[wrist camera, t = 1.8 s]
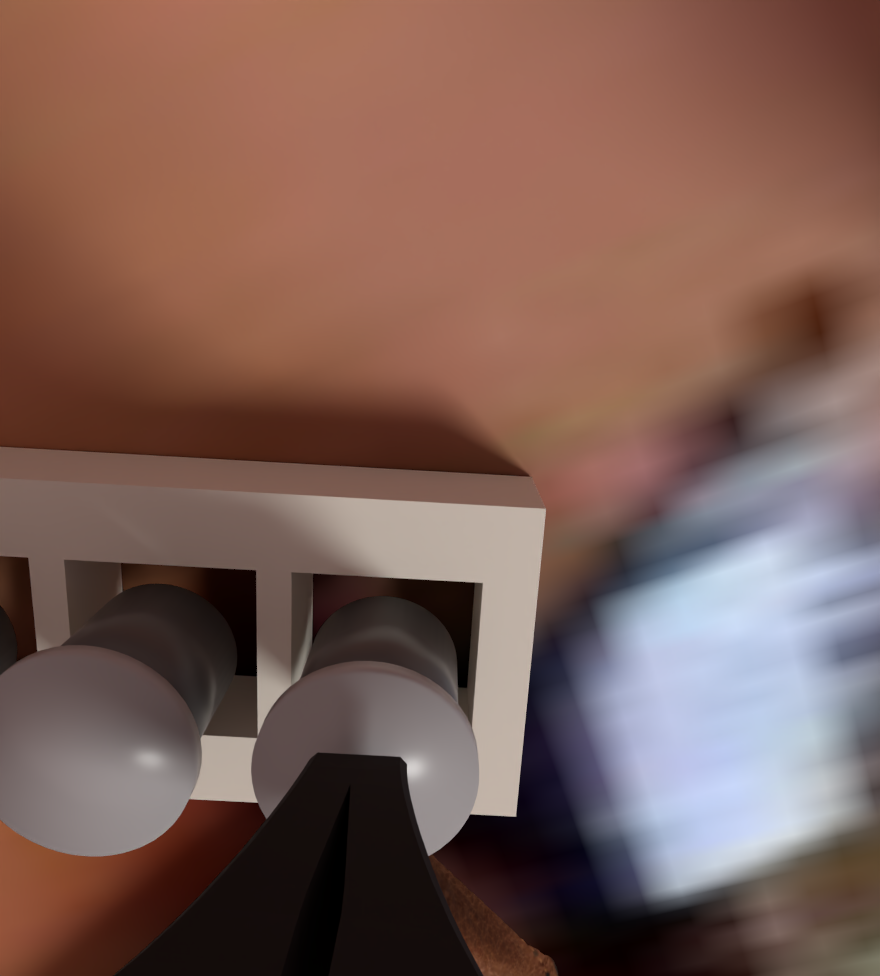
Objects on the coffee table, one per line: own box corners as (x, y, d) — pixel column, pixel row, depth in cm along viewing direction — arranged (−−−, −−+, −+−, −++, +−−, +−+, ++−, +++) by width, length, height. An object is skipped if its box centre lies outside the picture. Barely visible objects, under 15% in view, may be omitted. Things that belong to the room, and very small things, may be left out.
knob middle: (251, 574, 15) (189, 664, 11) (252, 733, 16) (197, 862, 12) (69, 564, 15) (-49, 651, 11) (82, 724, 16) (-23, 850, 12)
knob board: (531, 476, 17) (545, 508, 14) (507, 747, 18) (515, 816, 16) (-137, 438, 17) (-237, 465, 14) (-95, 714, 18) (-177, 779, 16)
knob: (477, 587, 15) (487, 680, 11) (466, 745, 16) (471, 876, 12) (296, 577, 15) (249, 667, 11) (295, 736, 16) (252, 865, 12)
